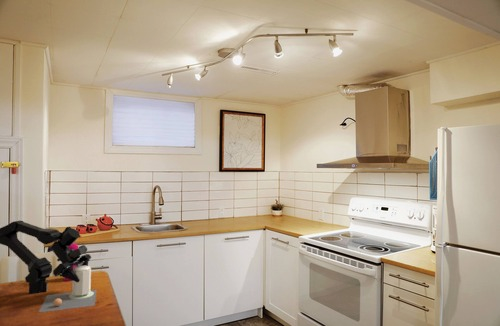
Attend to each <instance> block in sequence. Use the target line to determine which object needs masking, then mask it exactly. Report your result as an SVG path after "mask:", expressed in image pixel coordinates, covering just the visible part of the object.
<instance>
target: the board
mask: <svg viewBox="0 0 500 326" xmlns="http://www.w3.org/2000/svg"><path fill="white" fill-rule="evenodd" d="M97 291H98V290H97V289H92V290H91V291H90V292H89V293H88V294H85V295H73V294H72V291H71V292H63V293H56V294H47V295H46V297H45V299H44V301H43V303H42V304H41V307H40V308H39V310H38V312H37V313H46V312H54V311H55V312H56V311H62V310H70V309H78V308H79V309H80V308H84V307H86V308H87V307H93V306H94V307H95V304H96V298H97ZM58 298H59V299H61V300H62V303H61V305H60V306H55V305H54V300H55V299H58Z"/></svg>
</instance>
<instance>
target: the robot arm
mask: <svg viewBox="0 0 500 326" xmlns="http://www.w3.org/2000/svg"><path fill="white" fill-rule="evenodd" d="M18 233H22V234H25V235H28V236H30V237H33V238H36V240H37V241H38V242H40V243H41V244H43V245H48V244H51V245H48V246H47V253H52V252H53V253H54V255H55V256H56V257H57V259H56V261H57V262H61V263H59V264H58V265H57V266H56V267H55V268H54V269H53V265H52V262H51V261H49V260H48V259H47V258H46V257H45V256H44V257H38V256H36V255H35V254H34V253H33V251H31V250H30V249H29V248H28V247H27V246H26V245H25V244H24V243H22V241H21V240H20V239H18ZM80 236H81V235H80V232H79V230H77V229H75V228H72V227H71V226H67V227H66V228H64V230H63V231H60V230H59V229H55V228H43V227H39V226H37V225H34V224H30V223H28V222H25V221H23V220H16V221H12V222H10V223H8V224H6V225H5V226H2V227H0V245H3V246H6V247H7V248H9V250H10V251H12V252H13V253H14V255H15V256H17V257H18V258H19V259H20V260H21V261H22V262H23V263H24V264H25V265H26V266H27V269H28V270H27V271H28V274H27V275H26V276H25V277H24V280H25V283H28V295H33V294H41V293H43V294H44V293H47V292H48V284H49V283H48V281H47V279H48V278H50V276H51V273H52V272H53V276H54V277H62V278H68V279H70V280H73V281H75V282H79V281H80V280H79V278H78V277H77V275H76V274H75V273H74V271H73V266H77V267H78V266H89V262H90V260H91V259H92V256H91V255H90V254H88V252H87V251H88V247H86V245H85V244H83V245H81V246H78V249H76V250H74V249H71V250H70V249H69V248H68V246H70V245H72V244H73V243H75V242H76V240H77V239H78V238H80ZM74 263H75V264H74ZM73 281H72V282H73Z"/></svg>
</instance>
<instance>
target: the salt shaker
mask: <svg viewBox="0 0 500 326" xmlns="http://www.w3.org/2000/svg"><path fill="white" fill-rule="evenodd" d="M73 271H74V273H75V274H76V275H77V277H78V278H79V280H80V281H79V282H75V281H71V282H72V285H71V286H72V288H71V292H72V294H73V295H85V294H88V293H89V292H90V291H91V286H92V285H91V283H92V267H91V265H88V266H78V267H75V268H74V270H73Z"/></svg>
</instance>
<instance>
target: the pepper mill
mask: <svg viewBox="0 0 500 326" xmlns="http://www.w3.org/2000/svg"><path fill="white" fill-rule="evenodd" d="M68 248H69V249H70V250H71V249H74V250H76V249H78V248H79V245H78V244H77V243H75V242H74V243H73V244H72V245H70V246H68ZM74 264H75V263H74ZM75 267H77V266H73V270H74V268H75ZM63 278H64V281H66V282H73V280H70V279H68V278H65V277H63Z"/></svg>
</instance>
